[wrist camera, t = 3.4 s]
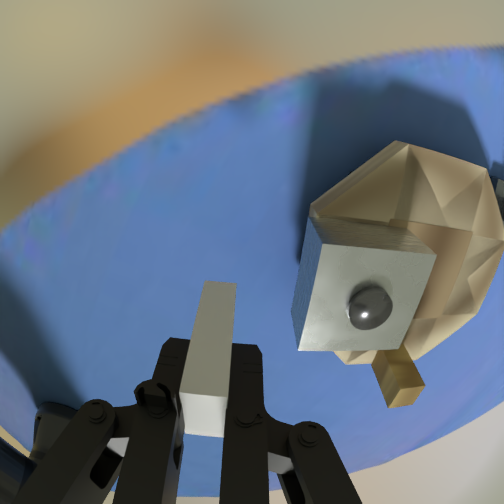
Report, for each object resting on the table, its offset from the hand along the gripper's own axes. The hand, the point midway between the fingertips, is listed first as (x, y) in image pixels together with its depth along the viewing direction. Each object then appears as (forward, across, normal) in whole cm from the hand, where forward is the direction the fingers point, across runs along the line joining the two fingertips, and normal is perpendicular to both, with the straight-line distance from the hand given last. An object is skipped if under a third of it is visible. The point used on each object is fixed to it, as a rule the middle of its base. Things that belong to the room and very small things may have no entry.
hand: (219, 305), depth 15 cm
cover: (+5, +8, 0) cm, 10 cm away
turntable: (+7, +14, 0) cm, 16 cm away
